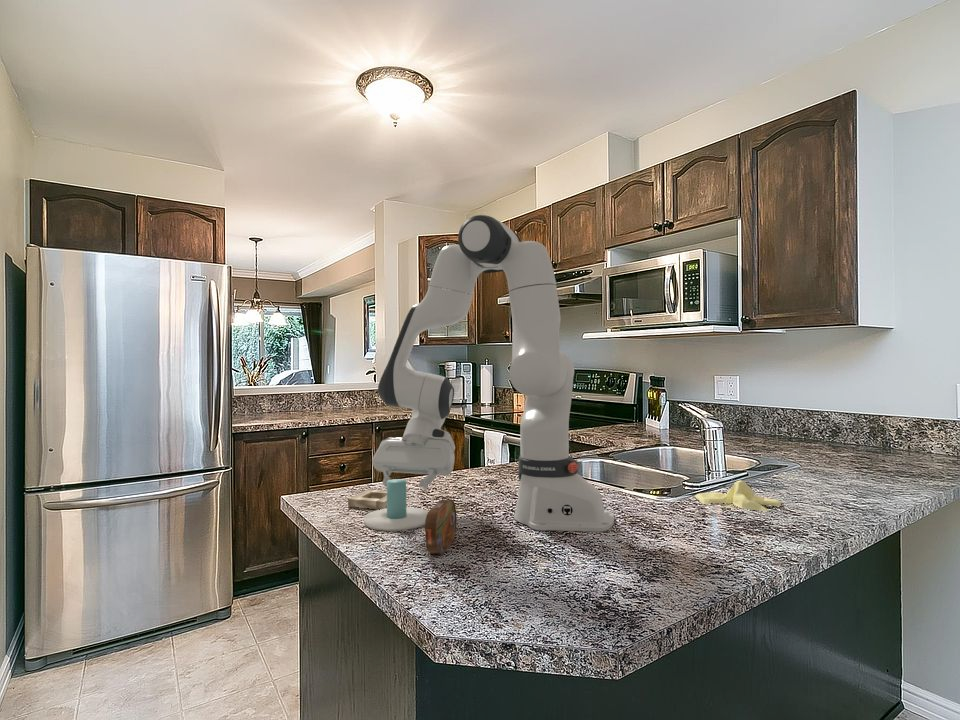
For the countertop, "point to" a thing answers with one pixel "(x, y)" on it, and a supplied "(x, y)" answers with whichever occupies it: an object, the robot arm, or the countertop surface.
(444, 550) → the tin
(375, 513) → the round white disc
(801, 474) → the countertop surface
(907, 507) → the countertop surface
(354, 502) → the pocket block
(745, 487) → the cloth
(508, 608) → the countertop surface
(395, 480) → the peg
